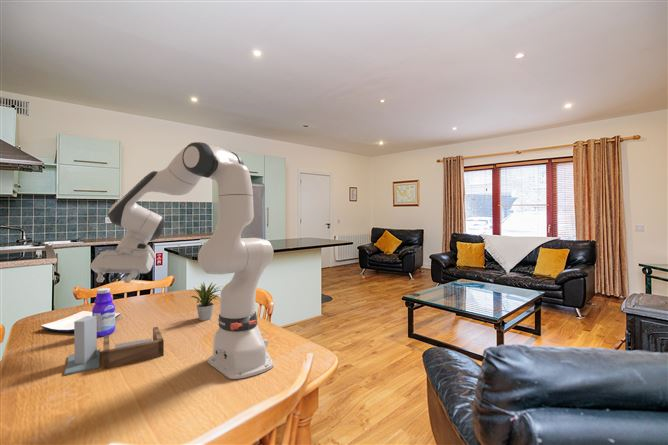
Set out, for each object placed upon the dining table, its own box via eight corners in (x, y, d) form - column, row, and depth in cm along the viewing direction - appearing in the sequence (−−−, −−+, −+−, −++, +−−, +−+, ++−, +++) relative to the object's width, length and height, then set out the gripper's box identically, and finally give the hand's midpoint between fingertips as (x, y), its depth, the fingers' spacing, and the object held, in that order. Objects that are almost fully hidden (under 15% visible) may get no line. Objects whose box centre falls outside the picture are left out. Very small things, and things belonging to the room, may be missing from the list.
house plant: (214, 325, 131) (214, 286, 130) (181, 324, 131) (181, 286, 130) (226, 314, 145) (227, 279, 144) (197, 313, 145) (197, 278, 145)
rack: (163, 355, 103) (163, 340, 103) (103, 368, 94) (103, 352, 94) (157, 340, 115) (157, 326, 115) (103, 350, 106) (103, 336, 106)
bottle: (101, 338, 116) (101, 291, 115) (88, 336, 117) (88, 290, 116) (118, 331, 123) (118, 287, 122) (106, 329, 124) (106, 286, 124)
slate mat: (99, 367, 94) (99, 365, 94) (64, 375, 90) (64, 373, 90) (100, 350, 106) (100, 349, 106) (69, 356, 101) (69, 355, 101)
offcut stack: (156, 356, 103) (156, 341, 103) (112, 364, 97) (112, 349, 97) (156, 351, 107) (156, 337, 107) (113, 359, 101) (113, 344, 100)
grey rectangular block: (96, 356, 101) (96, 316, 100) (84, 363, 96) (84, 321, 95) (87, 356, 100) (86, 316, 100) (74, 363, 95) (74, 321, 95)
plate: (125, 318, 139) (125, 312, 139) (83, 336, 118) (83, 329, 118) (83, 315, 141) (83, 310, 141) (35, 333, 121) (35, 326, 121)
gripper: (98, 244, 117) (77, 276, 107) (153, 245, 117) (137, 277, 107) (106, 255, 121) (87, 286, 112) (160, 255, 122) (145, 286, 112)
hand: (112, 281), depth 110 cm, fingers open, 8 cm apart
